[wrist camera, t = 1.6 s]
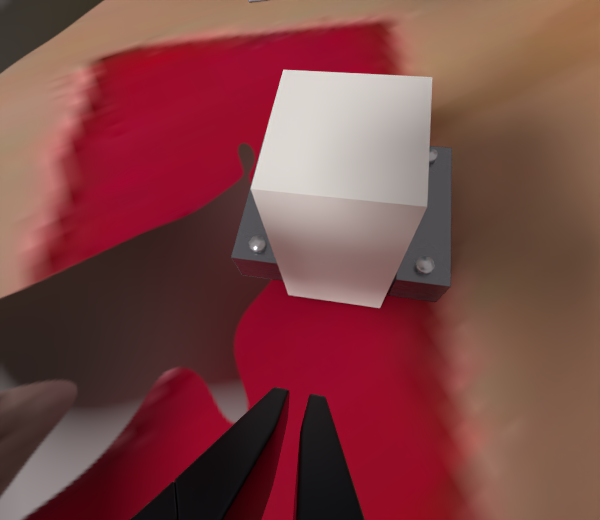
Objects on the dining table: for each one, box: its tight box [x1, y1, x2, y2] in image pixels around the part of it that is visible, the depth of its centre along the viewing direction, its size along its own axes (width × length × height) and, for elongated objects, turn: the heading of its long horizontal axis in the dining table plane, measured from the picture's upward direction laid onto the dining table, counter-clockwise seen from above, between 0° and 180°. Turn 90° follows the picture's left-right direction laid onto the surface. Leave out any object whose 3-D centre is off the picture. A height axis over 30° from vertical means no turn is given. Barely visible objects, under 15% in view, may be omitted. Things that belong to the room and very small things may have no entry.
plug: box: [251, 70, 432, 308], centre depth 19 cm, size 7×6×12 cm
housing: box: [231, 133, 452, 302], centre depth 24 cm, size 10×13×3 cm
